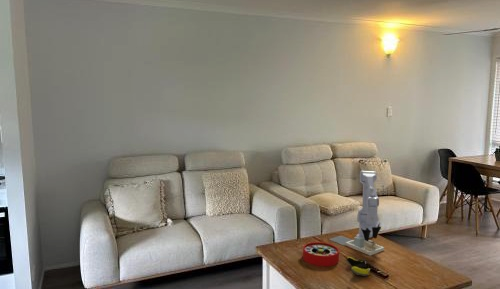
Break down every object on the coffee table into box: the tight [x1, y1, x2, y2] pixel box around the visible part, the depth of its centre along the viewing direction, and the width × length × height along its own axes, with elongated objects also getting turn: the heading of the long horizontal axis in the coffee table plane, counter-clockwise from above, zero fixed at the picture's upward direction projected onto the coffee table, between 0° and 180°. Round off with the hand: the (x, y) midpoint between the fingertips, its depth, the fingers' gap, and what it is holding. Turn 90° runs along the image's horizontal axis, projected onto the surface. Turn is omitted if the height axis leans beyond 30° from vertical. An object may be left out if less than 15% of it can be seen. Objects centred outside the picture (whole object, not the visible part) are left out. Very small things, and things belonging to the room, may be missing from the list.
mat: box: [328, 235, 353, 246], centre depth 237 cm, size 12×12×1 cm
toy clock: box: [302, 241, 340, 267], centre depth 211 cm, size 20×6×20 cm
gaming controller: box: [346, 256, 371, 277], centre depth 196 cm, size 15×6×10 cm
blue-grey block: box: [353, 235, 365, 247], centre depth 229 cm, size 4×4×5 cm
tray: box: [345, 239, 385, 257], centre depth 226 cm, size 18×13×2 cm
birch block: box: [365, 239, 377, 251], centre depth 222 cm, size 4×4×5 cm
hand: (370, 239), depth 222 cm, fingers open, 7 cm apart
